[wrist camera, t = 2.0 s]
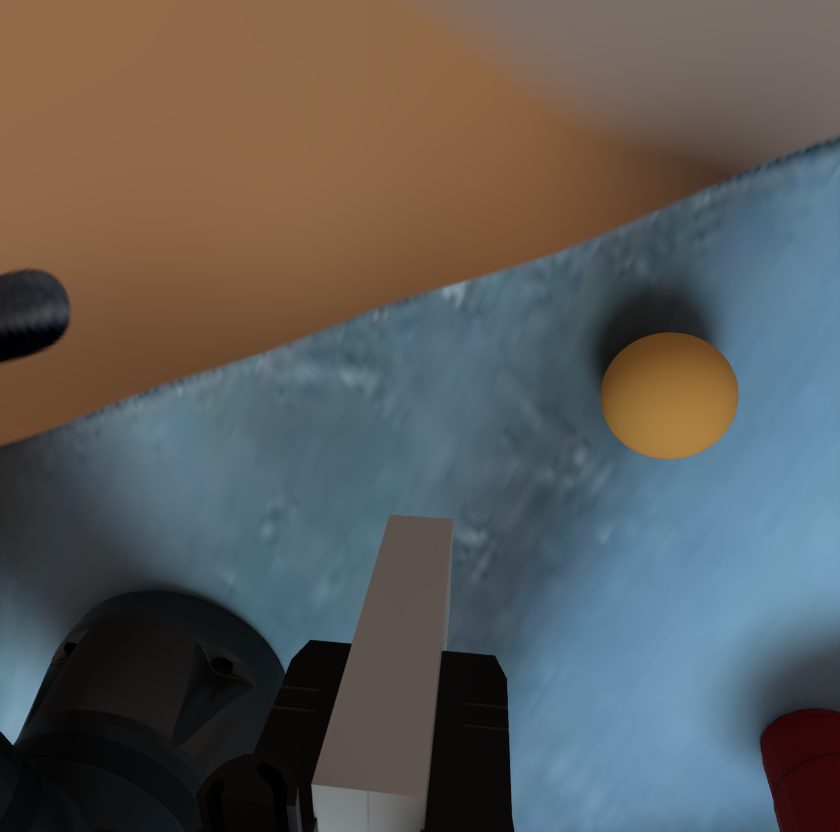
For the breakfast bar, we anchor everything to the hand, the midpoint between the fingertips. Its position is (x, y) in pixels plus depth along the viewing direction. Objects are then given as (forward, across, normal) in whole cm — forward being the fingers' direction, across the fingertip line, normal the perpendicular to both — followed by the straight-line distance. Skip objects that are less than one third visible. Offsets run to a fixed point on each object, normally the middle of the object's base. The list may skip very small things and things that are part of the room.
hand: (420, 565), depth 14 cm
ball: (+13, -9, 0) cm, 16 cm away
